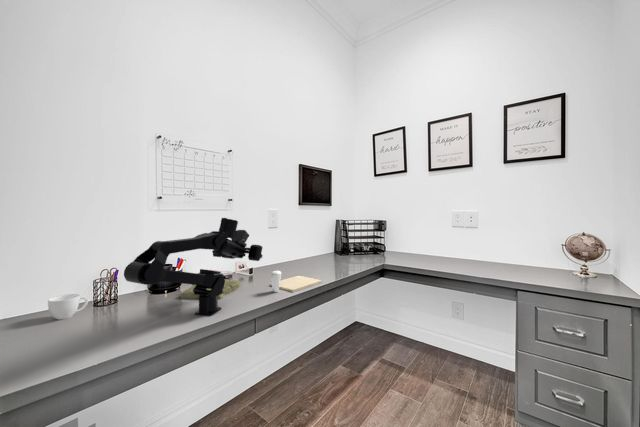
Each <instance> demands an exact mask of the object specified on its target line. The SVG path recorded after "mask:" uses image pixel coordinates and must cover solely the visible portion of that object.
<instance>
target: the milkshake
mask: <svg viewBox="0 0 640 427" xmlns="http://www.w3.org/2000/svg"><path fill="white" fill-rule="evenodd" d="M270 269H271V272H270V279H271V283H272V286H271V288H272V290H271V291H272V293H280V292H281V289H280V281H281V279H282V271H280V270H273V268H272V267H271V268H270Z"/></svg>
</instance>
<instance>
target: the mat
mask: <svg viewBox="0 0 640 427" xmlns="http://www.w3.org/2000/svg"><path fill="white" fill-rule="evenodd" d="M319 284H323V280H321V279H316V278H312V277H307V276H302V275H297V276H296V275H295V276H292V277H289V278H283V279H282V280H281V281H280V290H283V291H287V292H291V293H295V292H297V291H301V290H304V289H306V288H310V287H314V286H316V285H319ZM269 287H272V282H271V283H269Z"/></svg>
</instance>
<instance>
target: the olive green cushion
mask: <svg viewBox="0 0 640 427" xmlns="http://www.w3.org/2000/svg"><path fill="white" fill-rule="evenodd" d="M195 286H196V285H193V286H190V287H189V288H187V289H184V290H183V291H182V292H181V293H180V299H186V300H187V299H189V300H191V299H193V300H199V296H200V295H195V294H194V292H193V289H194V287H195ZM241 287H242V283H241V281H240V280H229V279H225V283H224V288H223V292H222V294H221V295H218V300H222V299H223V298H224V297H225V296H227V295H229V294H232V293H234V292H235V291H237V290H238V289H239V288H241ZM206 290H211V289H206Z"/></svg>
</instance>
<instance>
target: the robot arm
mask: <svg viewBox="0 0 640 427" xmlns="http://www.w3.org/2000/svg"><path fill="white" fill-rule="evenodd" d="M219 224H220V225H219V229H218V230H216V231H215V230H212V231H210V232H203V233H200V234H197V235H196V236H194V237H191V238H190V237H188V238H181V239H179V238H178V239H173V240H163V241H161V240H157V241H155V242H152V244H151V245H150V246H149V247H148V248H147V249H146V250H145V251H143V252H141V253H140V254H138V255H137V256H136V258H134V260H133V261H131V263H130V262H129V263H128V265H127V266H125V269H124V271H123V276H124V279H125V281H126V282H129V283H135V284H140V285H144V286H145V285H146V286H147V285H155V284H161V283H174V284H182V285H183V284H184V285H185V284H186V285H193V286H195V285H196V286H195V287H194V289H193V292H194V294H195V295H200V296H199V299H198V310H197V311H196V312H194V314H195V315H200V316H201V315H202V316H213V315H215V314H216V313H218V312H219V311H221V310H222V306H221V307H220V306H219V307H218V303H219V302H218V300H219V299H218V295H221V294H222V292H223V288H224V283H225V280H226V279H225V276H224V274H223V273H222V271H217V270H212V269H203V268H200V269H199V272H198V273H197V272H196V273H195V272H187V271H180V270H172V269H167V268H166V267H165V266H166V263H167V260H168V257H169V256H170V255H171V254H177V253H183V252H188V251H189V252H190V251H195V250H212V251H211V252H212V256H213V257H215V258H216V257H217V258H224V259H232V260H233V259H234V260H235V259H243V257H246V255H247V254H248V256H247V257H248V258H247V259H248V260H249V261H253V262H259V261H261V259H263V254H262V252H263V246H262V245H260V244H251V245H250V247H247V243H246V242H247V240H248V238H249V237H250V234H249V233H248V232H247V230H245V229H238V224H239V221H238V220H236V219H231V218H228V217H221V220H220V223H219ZM206 289H211V290H206Z"/></svg>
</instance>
